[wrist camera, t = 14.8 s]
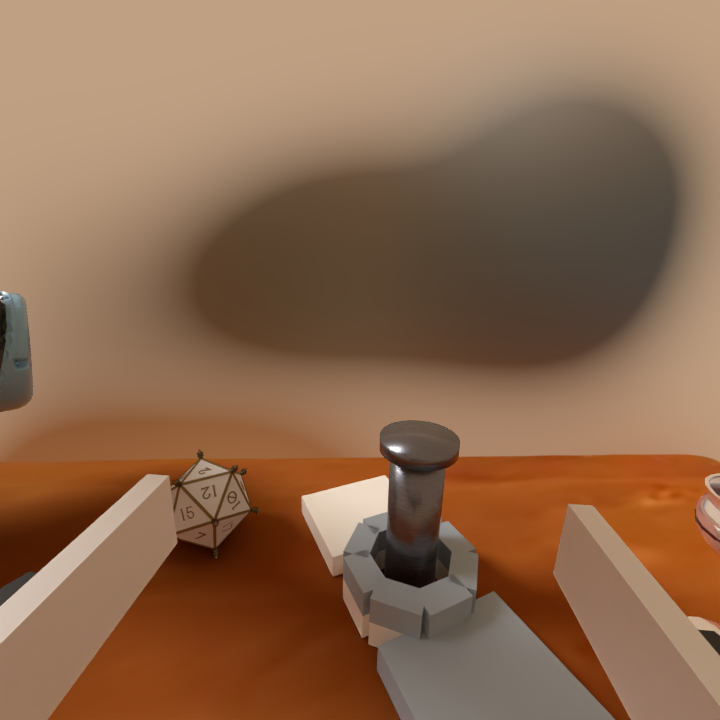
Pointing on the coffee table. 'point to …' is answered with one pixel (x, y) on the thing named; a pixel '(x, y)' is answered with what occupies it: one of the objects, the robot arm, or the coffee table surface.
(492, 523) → the coffee table surface
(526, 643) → the hinge leaf
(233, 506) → the game die
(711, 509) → the wineglass
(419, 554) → the pin
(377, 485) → the hinge leaf
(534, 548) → the coffee table surface
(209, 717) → the coffee table surface
